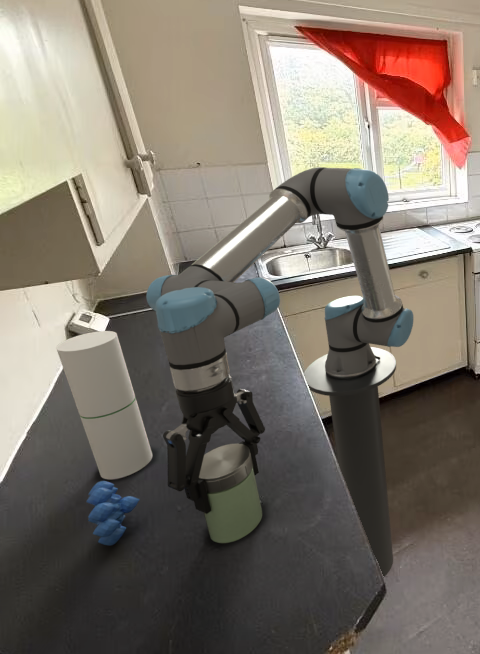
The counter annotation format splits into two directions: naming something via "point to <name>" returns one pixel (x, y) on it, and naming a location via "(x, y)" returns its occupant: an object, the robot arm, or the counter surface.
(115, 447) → the container
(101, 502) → the grapes
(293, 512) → the counter surface
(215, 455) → the flask lid
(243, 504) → the flask
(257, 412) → the robot arm
